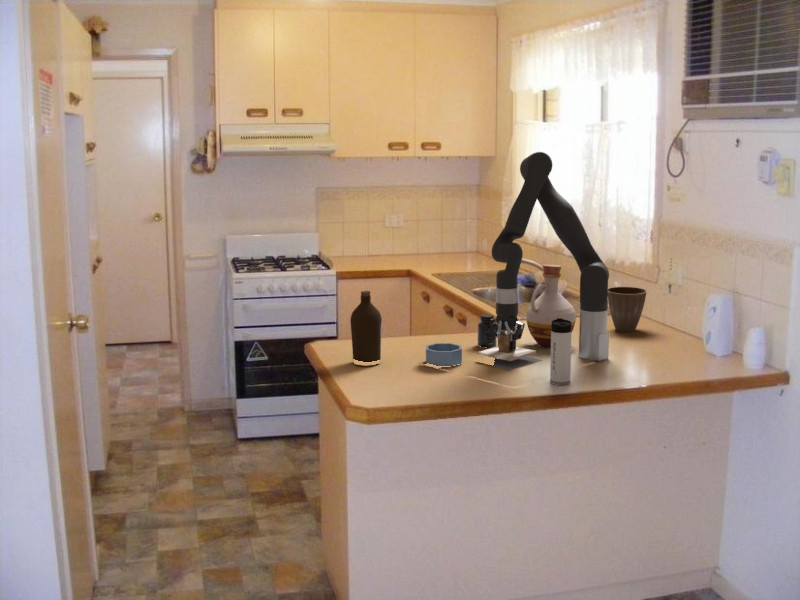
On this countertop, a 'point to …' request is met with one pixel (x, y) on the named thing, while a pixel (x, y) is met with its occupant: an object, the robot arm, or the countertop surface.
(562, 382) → the travel mug
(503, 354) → the lid
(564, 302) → the jug
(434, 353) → the bowl
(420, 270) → the countertop surface
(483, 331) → the supplement bottle
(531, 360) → the mat
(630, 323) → the plant pot
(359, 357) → the olive oil
